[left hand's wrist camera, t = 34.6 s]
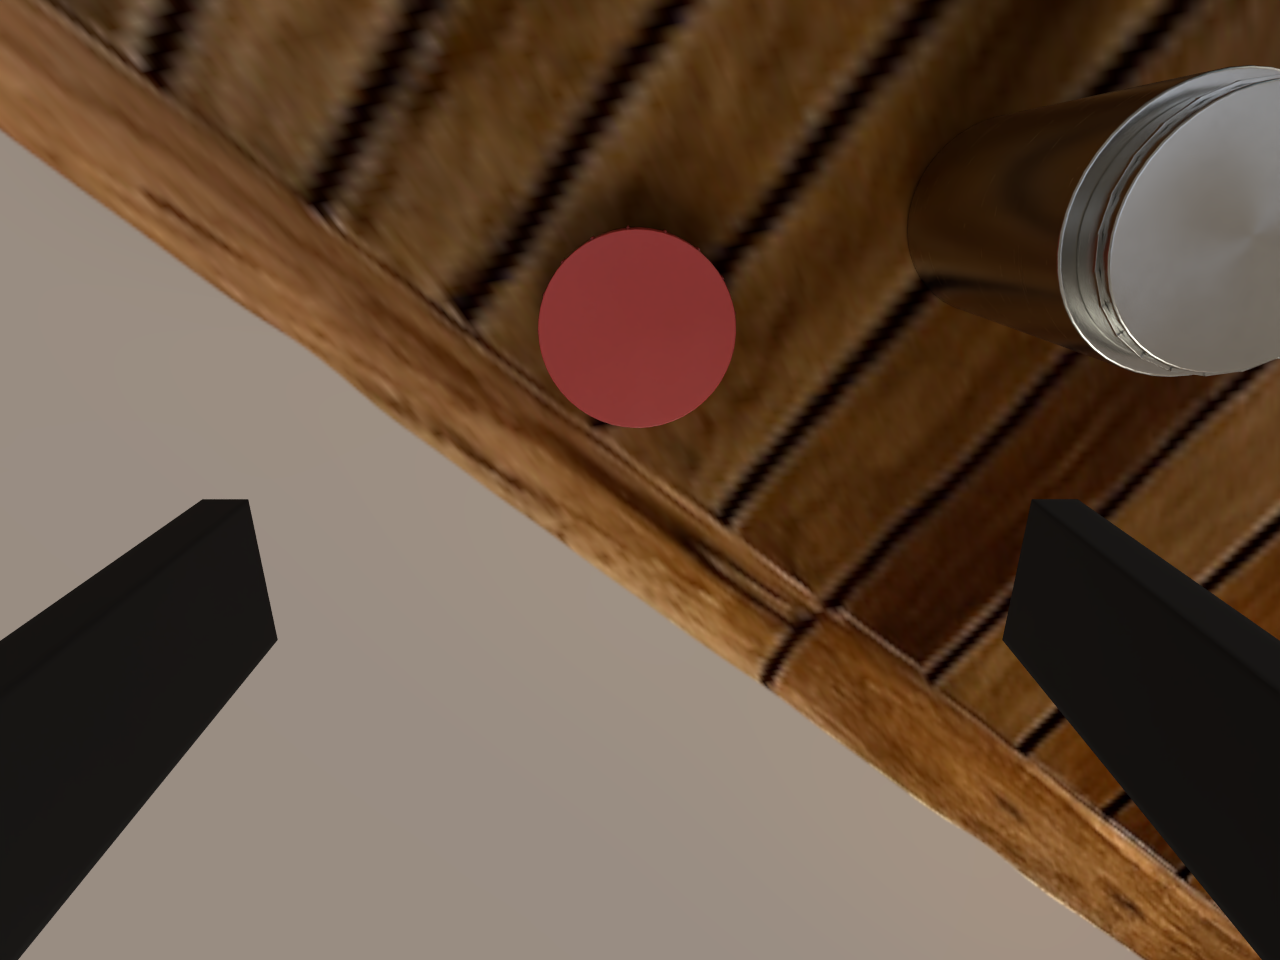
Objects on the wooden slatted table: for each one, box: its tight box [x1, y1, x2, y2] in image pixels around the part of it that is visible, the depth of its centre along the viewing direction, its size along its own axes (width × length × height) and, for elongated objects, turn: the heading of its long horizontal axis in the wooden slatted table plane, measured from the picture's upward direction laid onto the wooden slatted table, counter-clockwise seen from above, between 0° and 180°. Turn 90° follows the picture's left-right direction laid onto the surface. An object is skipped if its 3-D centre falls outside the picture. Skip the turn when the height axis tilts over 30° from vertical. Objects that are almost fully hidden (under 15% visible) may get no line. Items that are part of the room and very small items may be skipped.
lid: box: [538, 226, 736, 428], centre depth 36 cm, size 10×10×2 cm
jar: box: [907, 65, 1280, 377], centre depth 28 cm, size 9×9×16 cm
